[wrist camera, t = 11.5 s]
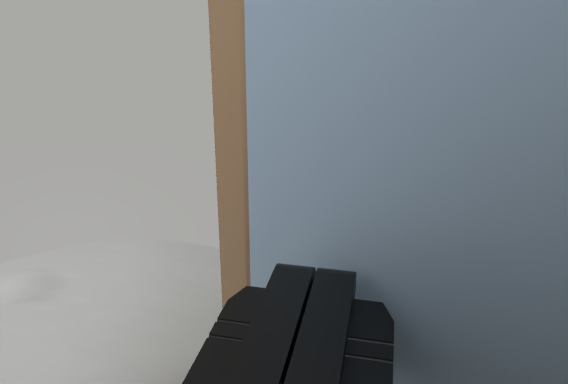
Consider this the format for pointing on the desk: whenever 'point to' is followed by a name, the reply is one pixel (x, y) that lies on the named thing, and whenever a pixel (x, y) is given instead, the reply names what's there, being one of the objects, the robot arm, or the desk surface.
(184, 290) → the desk surface
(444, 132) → the fence panel
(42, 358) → the desk surface
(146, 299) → the desk surface
